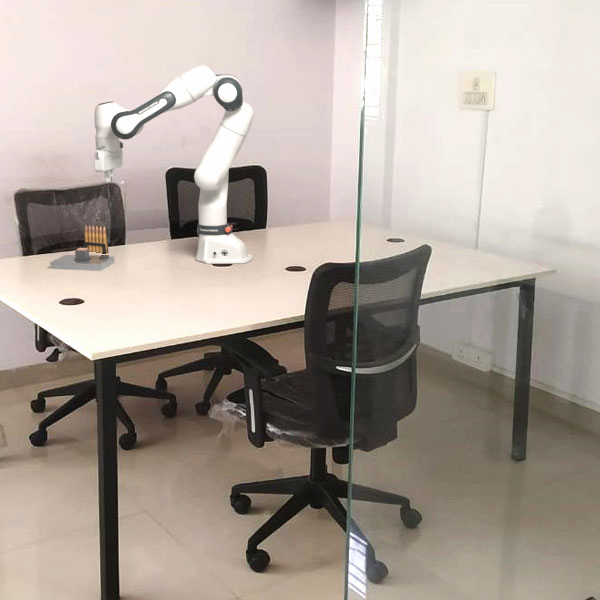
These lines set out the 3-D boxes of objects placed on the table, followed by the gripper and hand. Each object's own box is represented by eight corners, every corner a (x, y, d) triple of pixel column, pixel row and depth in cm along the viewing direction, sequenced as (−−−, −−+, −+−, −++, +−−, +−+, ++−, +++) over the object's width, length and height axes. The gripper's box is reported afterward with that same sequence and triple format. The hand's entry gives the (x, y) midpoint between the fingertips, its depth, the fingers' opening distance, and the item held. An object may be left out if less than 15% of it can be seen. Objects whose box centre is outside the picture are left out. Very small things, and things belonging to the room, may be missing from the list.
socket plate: (114, 262, 353) (114, 254, 352) (100, 270, 339) (100, 261, 339) (66, 261, 356) (65, 252, 355) (50, 268, 343) (50, 260, 342)
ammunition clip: (84, 254, 369) (82, 225, 367) (87, 253, 371) (85, 224, 368) (106, 256, 365) (104, 226, 362) (108, 255, 367) (107, 226, 364)
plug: (89, 264, 349) (89, 248, 348) (85, 266, 345) (84, 249, 344) (80, 263, 350) (79, 247, 348) (75, 265, 346) (74, 249, 344)
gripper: (105, 147, 335) (107, 185, 339) (124, 143, 355) (126, 178, 358) (89, 147, 336) (91, 184, 340) (109, 143, 356) (111, 178, 359)
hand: (109, 181), depth 349 cm, fingers closed
